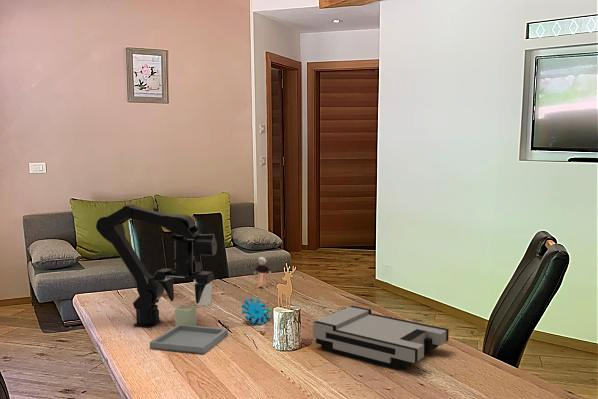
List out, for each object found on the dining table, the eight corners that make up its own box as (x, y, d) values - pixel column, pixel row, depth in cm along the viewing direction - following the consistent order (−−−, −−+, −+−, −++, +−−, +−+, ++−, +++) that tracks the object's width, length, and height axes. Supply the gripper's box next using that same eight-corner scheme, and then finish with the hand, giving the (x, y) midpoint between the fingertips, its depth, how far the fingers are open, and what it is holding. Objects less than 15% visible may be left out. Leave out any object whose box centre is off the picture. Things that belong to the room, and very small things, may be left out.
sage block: (175, 327, 187) (174, 309, 186) (182, 322, 192) (182, 305, 191) (189, 329, 186) (188, 310, 185) (196, 324, 190) (196, 306, 190)
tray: (150, 348, 168) (149, 342, 168) (178, 330, 184) (178, 324, 184) (203, 354, 163) (203, 347, 163) (227, 335, 179) (227, 328, 179)
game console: (414, 377, 147) (415, 345, 147) (313, 349, 167) (313, 322, 166) (448, 353, 164) (448, 324, 163) (352, 330, 183) (352, 305, 182)
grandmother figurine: (252, 288, 236) (251, 257, 235) (254, 285, 240) (254, 255, 238) (270, 288, 235) (270, 258, 233) (272, 286, 238) (272, 256, 237)
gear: (247, 323, 185) (239, 296, 191) (240, 332, 189) (232, 306, 195) (277, 322, 192) (268, 296, 197) (269, 331, 195) (261, 305, 201)
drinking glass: (216, 302, 215) (215, 276, 214) (204, 307, 210) (203, 280, 209) (202, 300, 219) (202, 274, 218) (190, 304, 213) (189, 277, 212)
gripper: (221, 251, 191) (221, 297, 193) (170, 248, 197) (171, 293, 198) (206, 258, 181) (207, 307, 182) (153, 254, 186) (154, 302, 188)
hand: (184, 302), depth 188 cm, fingers open, 9 cm apart
